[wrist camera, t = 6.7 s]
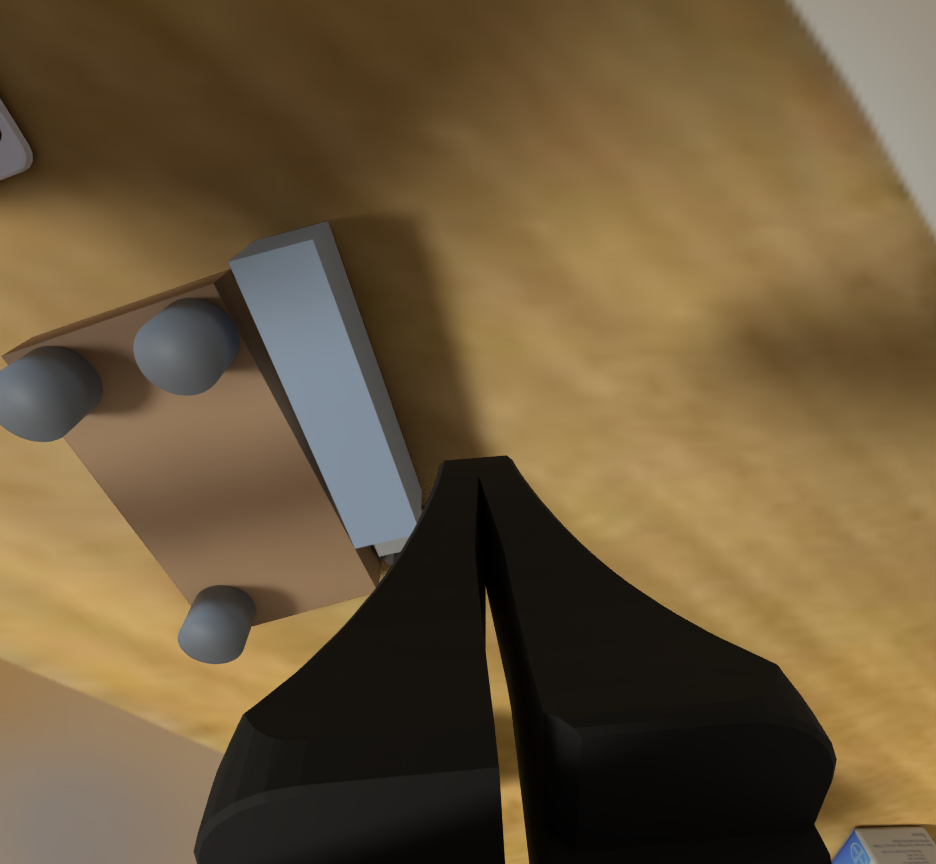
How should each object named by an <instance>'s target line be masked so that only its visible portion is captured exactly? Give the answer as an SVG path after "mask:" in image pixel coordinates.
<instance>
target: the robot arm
mask: <svg viewBox="0 0 936 864" xmlns="http://www.w3.org/2000/svg"><path fill="white" fill-rule="evenodd" d="M0 130H1V133H2V139H1V140H0V180H3V179H5V178H8V177H11V176H13V175H16V174H19V173H21V172H24V171H26V170H27V169H28V168H30V166H31V164H32V162H33V153H32V151H31V148H30V146H29V144H28V142H27V141H26V139H25V138H24V136H23V134H22V133H21V131H20V129H19V128H18V126H17V125H16V123H15V121H14V120H13V118H12V117H11V115H10V113H9V112H8V110H7V108H6V107H5V105H4V104H3V102H2V100H1V99H0ZM486 589H487V594H488V599H489V603H490V608H491V613H492V617H493V622H494V627H495V631H496V636H497V641H498V645H499V650H500V654H501V659H502V664H503V668H504V673H505V677H506V682H507V687H508V693H509V699H510V704H511V711H512V719H513V728H514V736H515V744H516V753H517V761H518V769H519V778H520V786H521V795H522V803H523V812H524V821H525V829H526V838H527V847H528V856H529V864H832V862H831V858H830V854H829V852H828V850H827V848H826V846H825V844H824V842H823V840H822V838H821V836H820V835H819V833H818V831H817V829H816V827H815V825H814V823H815V821H816V818H817V816H818V813H819V811H820V809H821V806H822V804H823V801H824V799H825V796H826V794H827V792H828V789H829V787H830V784H831V782H832V779H833V775H834V770H835V765H836V760H837V759H836V756H835V753H834V749H833V746H832V743H831V741H830V739H829V738H828V736H827V735H826V733H825V731H824V730H823V728H822V726H821V725H820V723H819V722H818V720H817V718H816V717H815V715H814V713H813V712H812V710H811V709H810V708H809V706H808V705H807V703H806V702H805V701H804V699H803V698H802V696H801V695H800V693H799V692H798V691H797V690H796V688H795V687H794V686H793V685H792V683H791V682H790V681H789V680H788V678H787V677H786V676H785V674H784V673H783V672H782V670H781V669H780V667H779V666H778V665H777V664H775V663H773V662H770V661H768V660H766V659H764V658H762V657H760V656H758V655H756V654H753V653H751V652H749V651H747V650H745V649H743V648H741V647H738V646H736V645H734V644H732V643H730V642H728V641H726V640H724V639H721V638H719V637H717V636H715V635H713V634H711V633H709V632H708V631H706V630H704V629H702V628H700V627H699V626H697V625H695V624H693V623H691V622H690V621H688V620H686V619H684V618H683V617H681V616H679V615H677V614H675V613H674V612H672V611H671V610H669V609H667V608H666V607H664V606H662V605H661V604H659V603H658V602H656V601H655V600H653V599H652V598H650V597H649V596H647V595H646V594H644V593H643V592H641V591H640V590H638V589H637V588H635V587H634V586H632V585H631V584H629V583H628V582H627V581H625V580H624V579H623V578H621V577H620V576H619V575H617V574H616V573H615V572H614V571H612V570H611V569H610V568H609V567H608V566H606V565H605V564H604V563H603V562H601V561H600V560H599V559H598V558H597V557H596V556H594V555H593V554H592V553H591V552H590V551H589V550H588V549H587V548H586V547H585V546H583V545H582V544H581V543H580V542H579V541H578V540H577V539H576V538H575V537H574V536H573V535H572V534H571V533H570V532H569V531H568V530H567V529H566V528H565V527H564V526H563V525H562V524H561V522H560V521H559V520H558V519H557V518H556V517H555V516H554V515H553V514H552V512H551V511H550V510H549V509H548V508H547V507H546V506H545V504H544V503H543V502H542V501H541V500H540V499H539V497H538V496H537V495H536V494H535V492H534V491H533V490H532V488H531V487H530V486H529V484H528V483H527V482H526V480H525V479H524V478H523V476H522V475H521V473H520V472H519V470H518V469H517V467H516V466H515V464H514V462H513V460H512V459H510V458H509V457H508V456H495V457H483V458H471V459H458V460H446V461H444V462H443V463H442V464H441V465H440V466H439V469H438V474H437V477H436V481H435V484H434V486H433V489H432V491H431V494H430V496H429V499H428V501H427V503H426V505H425V507H424V510H423V512H422V514H421V516H420V518H419V520H418V522H417V524H416V526H415V528H414V530H413V531H412V533H411V535H410V537H409V538H408V540H407V542H406V543H405V545H404V547H403V549H402V550H401V552H400V554H399V555H398V557H397V558H396V560H395V561H394V563H393V564H392V566H391V567H390V569H389V570H388V572H387V573H386V575H385V576H384V577H383V579H382V580H381V581H380V583H379V584H378V586H377V587H376V588H375V590H374V591H373V592H372V593H371V595H370V596H369V597H368V598H367V599H366V601H365V602H364V603H363V604H362V605H361V607H360V608H359V609H358V610H357V611H356V613H355V614H354V615H353V616H352V617H351V618H350V620H349V621H348V622H347V623H346V624H345V625H344V626H343V627H342V628H341V629H340V630H339V632H338V633H337V634H336V635H335V636H333V637H332V638H331V639H330V640H329V641H328V642H327V643H326V644H325V645H324V646H323V647H322V648H321V649H320V650H319V651H318V652H317V653H316V654H315V655H314V656H313V657H312V658H311V659H310V660H309V661H308V662H307V663H306V664H305V665H304V666H303V667H302V668H300V669H299V670H298V671H297V672H296V673H295V674H294V675H292V676H291V677H290V678H289V679H287V680H286V681H285V682H284V683H282V684H281V685H280V686H279V687H277V688H276V689H275V690H274V691H272V692H271V693H270V694H269V695H267V696H266V697H265V698H264V699H262V700H261V701H260V702H259V703H258V704H256V705H255V706H254V707H252V708H251V709H250V710H248V711H247V712H245V713H244V714H243V716H242V718H241V720H240V722H239V724H238V726H237V728H236V730H235V732H234V735H233V737H232V739H231V741H230V743H229V745H228V748H227V750H226V753H225V755H224V757H223V759H222V761H221V764H220V766H219V768H218V771H217V773H216V776H215V779H214V782H213V785H212V788H211V791H210V795H209V798H208V802H207V805H206V808H205V811H204V815H203V818H202V821H201V825H200V828H199V832H198V835H197V840H196V844H195V849H194V854H195V858H196V861H197V864H505V855H504V839H503V823H502V807H501V791H500V776H499V765H498V755H497V746H496V736H495V726H494V717H493V709H492V701H491V693H490V685H489V676H488V668H487V660H486Z"/></svg>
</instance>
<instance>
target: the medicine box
mask: <svg viewBox="0 0 936 864" xmlns="http://www.w3.org/2000/svg"><path fill="white" fill-rule="evenodd" d="M831 862H832V864H936V844H935V842H934V841H933V839H932V838H931V837H930V835H929V834H928V832H927V831H926V829H925V828H923V827H906V826H902V827H872V828H853V829H852V831H851V832H850V833H849V835H848V836H847V838H846V840H845V841H844V843H843V844H842V846H841V847H840V849H839V850H838V852H837V853H836V855H835V856H834V858H833V859H832V861H831Z"/></svg>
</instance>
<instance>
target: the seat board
mask: <svg viewBox="0 0 936 864" xmlns="http://www.w3.org/2000/svg"><path fill="white" fill-rule="evenodd" d="M2 358H3V359H4V360H5V361H6V363H7V364H8V365H9V366H7V367H5V368H4V369H2V370H1V371H0V425H1V426H2V427H4V428H5V429H6V430H8V431H9V432H11V433H13V434H15V435H17V436H19V437H21V438H24V439H27V440H31V441H37V442H49V441H54V440H57V439H60V438H62V437H63V438H64V439H65V440H66V442H67V443H68V444H69V446H70V447H71V448H72V450H73V451H74V452H75V454H76V455H77V456H78V458H79V459H80V460H81V461H82V463H83V464H84V465H85V467H86V468H87V469H88V471H89V472H90V473H91V475H92V476H93V477H94V479H95V480H96V481H97V483H98V484H99V485H100V486H101V488H102V489H103V490H104V492H105V493H106V494H107V496H108V497H109V498H110V500H111V501H112V502H113V504H114V505H115V506H116V508H117V509H118V510H119V511H120V513H121V514H122V515H123V517H124V518H125V519H126V521H127V522H128V523H129V525H130V526H131V527H132V529H133V530H134V531H135V533H136V534H137V535H138V536H139V538H140V539H141V540H142V542H143V543H144V544H145V546H146V547H147V548H148V550H149V551H150V552H151V554H152V555H153V556H154V557H155V559H156V560H157V561H158V563H159V564H160V565H161V567H162V568H163V569H164V571H165V572H166V573H167V575H168V576H169V577H170V579H171V580H172V581H173V582H174V584H175V585H176V586H177V588H178V589H179V590H180V592H181V593H182V594H183V596H184V597H185V598H186V600H187V601H188V602H189V604H190V605H191V608H190V610H189V612H188V615H187V617H186V619H185V621H184V623H183V625H182V627H181V629H180V631H179V634H178V642H179V645H180V647H181V649H182V650H183V651H184V652H185V653H186V654H187V655H188V656H190V657H191V658H193V659H195V660H198V661H201V662H204V663H209V664H222V663H227V662H230V661H233V660H235V659H236V658H238V657H239V656H240V655H241V653H242V652H243V649H244V647H245V644H246V641H247V638H248V635H249V632H250V629H251V626H255V625H259V624H262V623H266V622H270V621H273V620H277V619H281V618H284V617H288V616H292V615H295V614H299V613H303V612H306V611H310V610H314V609H317V608H321V607H325V606H328V605H332V604H336V603H339V602H343V601H347V600H350V599H354V598H358V597H361V596H365V595H369V594H371V593H372V592H373V591H374V590H375V588H376V587H377V586H378V584H379V578H380V569H381V563H380V561H379V559H378V557H377V555H376V554H375V552H374V550H373V548H372V546H371V545H369V546H365V547H360V548H356V549H355V548H354V545H353V543H352V541H351V539H350V536H349V534H348V532H347V529H346V527H345V525H344V523H343V520H342V518H341V516H340V514H339V511H338V509H337V507H336V505H335V502H334V500H333V498H332V496H331V493H330V491H329V489H328V487H327V484H326V482H325V480H324V477H323V475H322V473H321V471H320V468H319V466H318V464H317V462H316V459H315V457H314V455H313V453H312V450H311V448H310V446H309V444H308V441H307V439H306V437H305V435H304V432H303V430H302V428H301V425H300V423H299V421H298V419H297V416H296V414H295V412H294V410H293V407H292V405H291V403H290V401H289V398H288V396H287V394H286V392H285V389H284V387H283V385H282V383H281V380H280V378H279V376H278V374H277V371H276V369H275V367H274V364H273V362H272V360H271V358H270V355H269V353H268V351H267V349H266V346H265V344H264V342H263V340H262V337H261V335H260V333H259V331H258V328H257V326H256V324H255V322H254V319H253V317H252V315H251V312H250V310H249V308H248V306H247V303H246V301H245V299H244V297H243V294H242V293H241V291H240V289H239V287H238V285H237V283H236V281H235V279H234V277H233V275H232V273H231V271H230V270H227V271H224V272H221V273H218V274H215V275H212V276H209V277H206V278H203V279H201V280H198V281H195V282H192V283H189V284H186V285H183V286H180V287H177V288H174V289H171V290H169V291H166V292H163V293H160V294H157V295H154V296H151V297H148V298H145V299H142V300H139V301H137V302H134V303H131V304H128V305H125V306H122V307H119V308H116V309H113V310H110V311H107V312H105V313H102V314H99V315H96V316H93V317H90V318H87V319H84V320H81V321H78V322H75V323H73V324H70V325H67V326H64V327H61V328H58V329H55V330H52V331H49V332H46V333H44V334H41V335H38V336H35V337H32V338H30V339H29V340H27V341H25V342H24V343H22V344H21V345H19V346H17V347H16V348H14V349H12V350H11V351H9V352H7V353H6V354H4V355H2Z"/></svg>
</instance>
